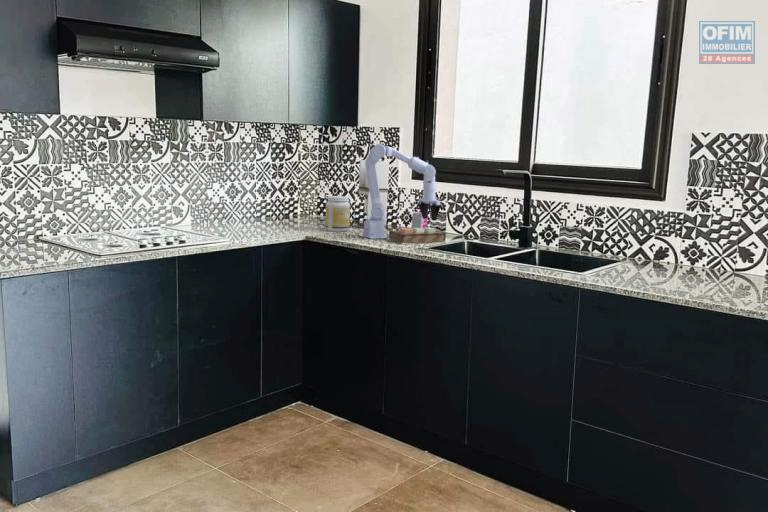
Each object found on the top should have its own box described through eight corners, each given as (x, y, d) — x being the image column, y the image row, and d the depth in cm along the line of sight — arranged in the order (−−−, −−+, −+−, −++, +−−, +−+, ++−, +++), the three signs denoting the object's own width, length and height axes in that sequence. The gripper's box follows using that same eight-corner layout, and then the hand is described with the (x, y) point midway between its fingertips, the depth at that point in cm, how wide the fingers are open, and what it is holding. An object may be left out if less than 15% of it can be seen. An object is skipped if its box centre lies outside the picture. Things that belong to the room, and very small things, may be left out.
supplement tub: (353, 230, 348) (355, 197, 345) (341, 233, 337) (342, 198, 334) (333, 227, 353) (334, 195, 350) (320, 230, 342) (321, 196, 340)
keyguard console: (402, 244, 313) (403, 234, 312) (388, 239, 323) (389, 230, 322) (445, 242, 326) (445, 233, 325) (430, 238, 336) (431, 229, 335)
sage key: (427, 236, 324) (428, 228, 324) (422, 234, 328) (422, 227, 327) (435, 235, 327) (435, 228, 326) (429, 234, 330) (430, 227, 330)
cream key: (416, 236, 321) (416, 229, 320) (411, 235, 324) (411, 227, 324) (424, 236, 323) (424, 229, 323) (418, 235, 327) (419, 227, 326)
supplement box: (420, 236, 340) (421, 213, 338) (410, 234, 343) (411, 212, 341) (426, 235, 344) (428, 212, 342) (417, 234, 348) (418, 211, 346)
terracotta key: (404, 237, 317) (405, 229, 317) (399, 235, 321) (399, 228, 320) (412, 236, 320) (413, 229, 319) (407, 235, 323) (407, 228, 323)
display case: (375, 226, 369) (378, 160, 363) (385, 229, 360) (389, 161, 354) (356, 226, 363) (360, 159, 357) (366, 229, 354) (370, 161, 348)
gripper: (445, 190, 320) (445, 219, 323) (427, 189, 332) (427, 217, 335) (433, 191, 317) (433, 221, 319) (415, 190, 329) (415, 218, 331)
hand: (429, 219), depth 327 cm, fingers open, 7 cm apart
